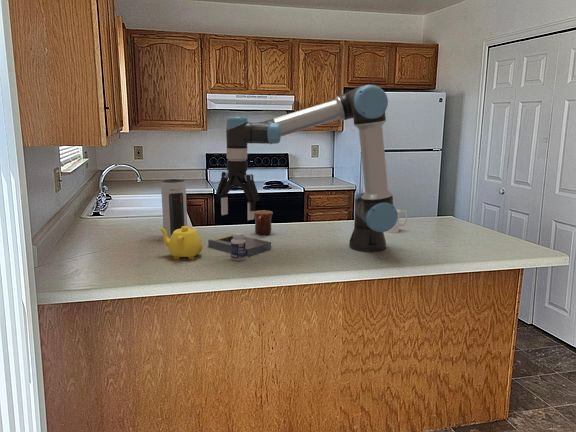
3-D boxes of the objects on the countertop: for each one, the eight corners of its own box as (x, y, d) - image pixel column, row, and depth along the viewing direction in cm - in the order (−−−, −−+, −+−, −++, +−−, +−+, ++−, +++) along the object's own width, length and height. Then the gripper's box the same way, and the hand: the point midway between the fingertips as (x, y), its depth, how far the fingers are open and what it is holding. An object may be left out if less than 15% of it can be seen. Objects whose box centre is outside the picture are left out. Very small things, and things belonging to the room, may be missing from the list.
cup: (407, 233, 227) (409, 212, 225) (381, 232, 228) (382, 211, 226) (405, 229, 235) (406, 209, 233) (380, 228, 236) (381, 208, 234)
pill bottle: (239, 261, 180) (239, 236, 178) (228, 259, 183) (227, 234, 181) (248, 258, 185) (248, 233, 183) (237, 256, 188) (236, 231, 186)
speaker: (162, 242, 207) (160, 181, 201) (163, 236, 217) (161, 178, 211) (188, 241, 209) (186, 180, 203) (187, 235, 219) (186, 177, 213)
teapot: (189, 249, 196) (188, 220, 194) (210, 256, 186) (210, 226, 184) (158, 255, 187) (157, 225, 184) (179, 264, 177) (178, 232, 174)
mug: (256, 231, 228) (256, 209, 226) (274, 232, 226) (274, 210, 224) (249, 237, 216) (249, 214, 214) (268, 238, 214) (268, 215, 212)
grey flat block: (271, 249, 197) (271, 242, 197) (247, 256, 186) (247, 249, 186) (232, 240, 211) (232, 233, 210) (208, 247, 200) (208, 239, 199)
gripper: (269, 161, 172) (269, 220, 176) (220, 157, 187) (221, 211, 191) (255, 162, 166) (255, 223, 170) (206, 158, 181) (207, 213, 185)
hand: (237, 217), depth 181 cm, fingers open, 13 cm apart
